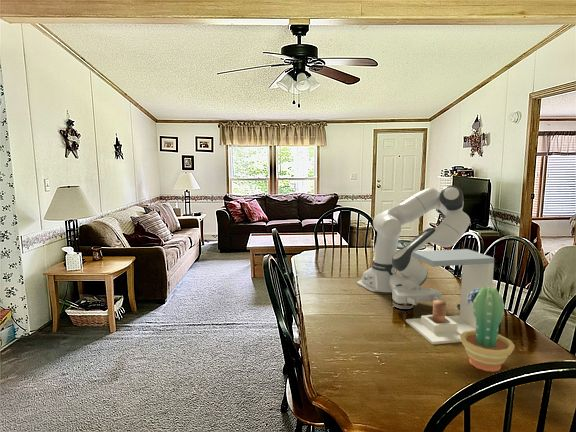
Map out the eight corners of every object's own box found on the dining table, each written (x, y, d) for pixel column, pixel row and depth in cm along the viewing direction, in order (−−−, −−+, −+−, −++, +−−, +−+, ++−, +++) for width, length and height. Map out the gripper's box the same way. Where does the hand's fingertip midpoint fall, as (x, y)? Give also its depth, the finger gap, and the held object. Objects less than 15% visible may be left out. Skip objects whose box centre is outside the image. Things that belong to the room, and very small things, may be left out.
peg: (431, 327, 143) (432, 303, 142) (433, 323, 147) (434, 299, 145) (443, 330, 141) (445, 305, 139) (445, 325, 145) (446, 301, 143)
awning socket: (405, 321, 151) (408, 249, 147) (459, 317, 155) (463, 247, 151) (432, 344, 132) (436, 262, 128) (492, 339, 135) (498, 259, 132)
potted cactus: (494, 351, 126) (499, 280, 123) (524, 376, 111) (531, 296, 108) (450, 352, 126) (453, 281, 123) (474, 378, 111) (479, 297, 107)
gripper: (431, 296, 168) (449, 307, 154) (389, 299, 165) (403, 311, 151) (432, 283, 167) (450, 293, 153) (389, 285, 164) (403, 296, 150)
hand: (426, 302), depth 152 cm, fingers open, 8 cm apart
